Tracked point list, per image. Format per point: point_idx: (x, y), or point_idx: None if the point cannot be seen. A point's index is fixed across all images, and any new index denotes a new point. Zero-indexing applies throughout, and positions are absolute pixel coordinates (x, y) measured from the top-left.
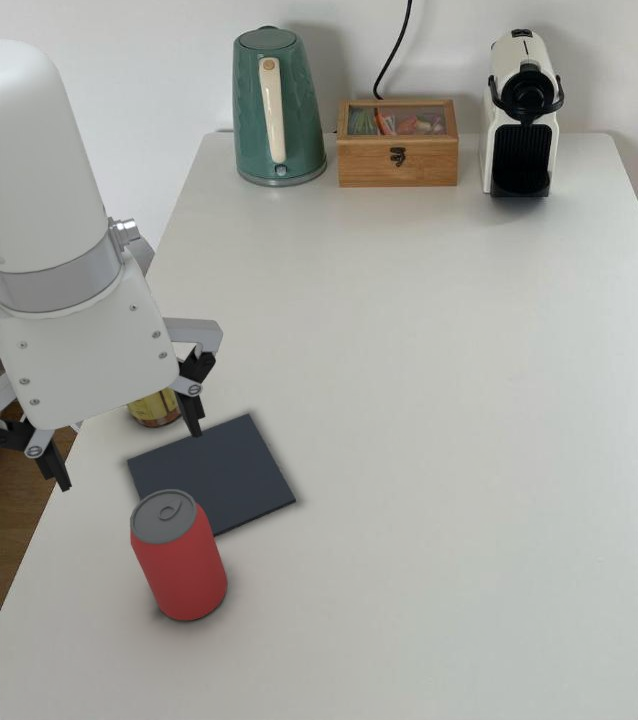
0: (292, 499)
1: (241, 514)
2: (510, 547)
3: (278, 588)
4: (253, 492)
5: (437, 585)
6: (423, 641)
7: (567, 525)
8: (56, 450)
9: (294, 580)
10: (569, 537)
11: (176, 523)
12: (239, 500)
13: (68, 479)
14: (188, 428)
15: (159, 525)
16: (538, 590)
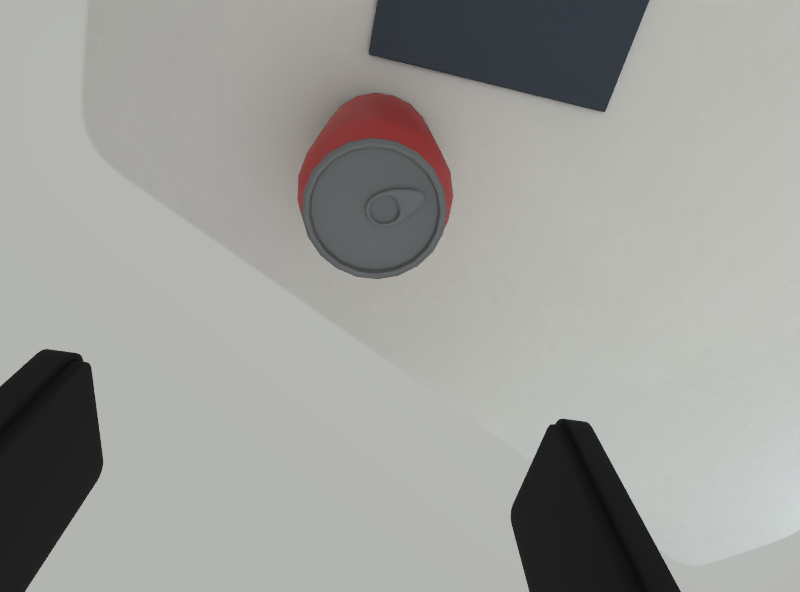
0: (600, 109)
1: (520, 73)
2: (710, 363)
3: (473, 228)
4: (568, 42)
5: (612, 347)
6: (545, 383)
7: (775, 381)
8: (6, 530)
9: (497, 232)
10: (759, 392)
11: (387, 242)
12: (538, 40)
13: (79, 505)
14: (525, 487)
15: (357, 224)
16: (674, 412)
